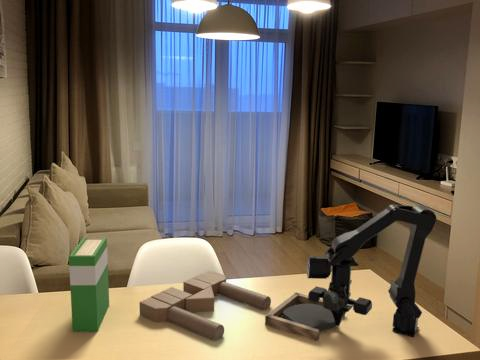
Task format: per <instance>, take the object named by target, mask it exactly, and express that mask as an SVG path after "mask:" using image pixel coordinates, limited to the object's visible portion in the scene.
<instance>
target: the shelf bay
mask: <svg viewBox="0 0 480 360" xmlns="http://www.w3.org/2000/svg"><path fill="white" fill-rule="evenodd" d="M299 304H317V305H321V306H323V298H320V300H319V301H318V302H314V301H310V300H308V295H306V294H303V293H300V292H295V293H293V294H292V295H290V296H289V297H288V298H286V300H284V301H282V303H280V304H279V305H278V306H276V307H275V308H274V309H272V310H271V311H270V312H269V313H266V315H265V316H264V318H265V319H264V325H265V326H268V327H272V328H274V329H278V330H281V331H283V332H286V333H290V334H293V335H296V336H299V337H302V338H305V339H309V340H312V341H313V342H317V341H319V340H320V332H319V329H315V328H312V327H309V326H306V325H302V324H299V323H296V322H293V321H289V320H286V319H283V311H284V310H285V309H286V308H288V307H291V306H294V305H299ZM328 310H330V309H328ZM330 311H331V310H330Z"/></svg>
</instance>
